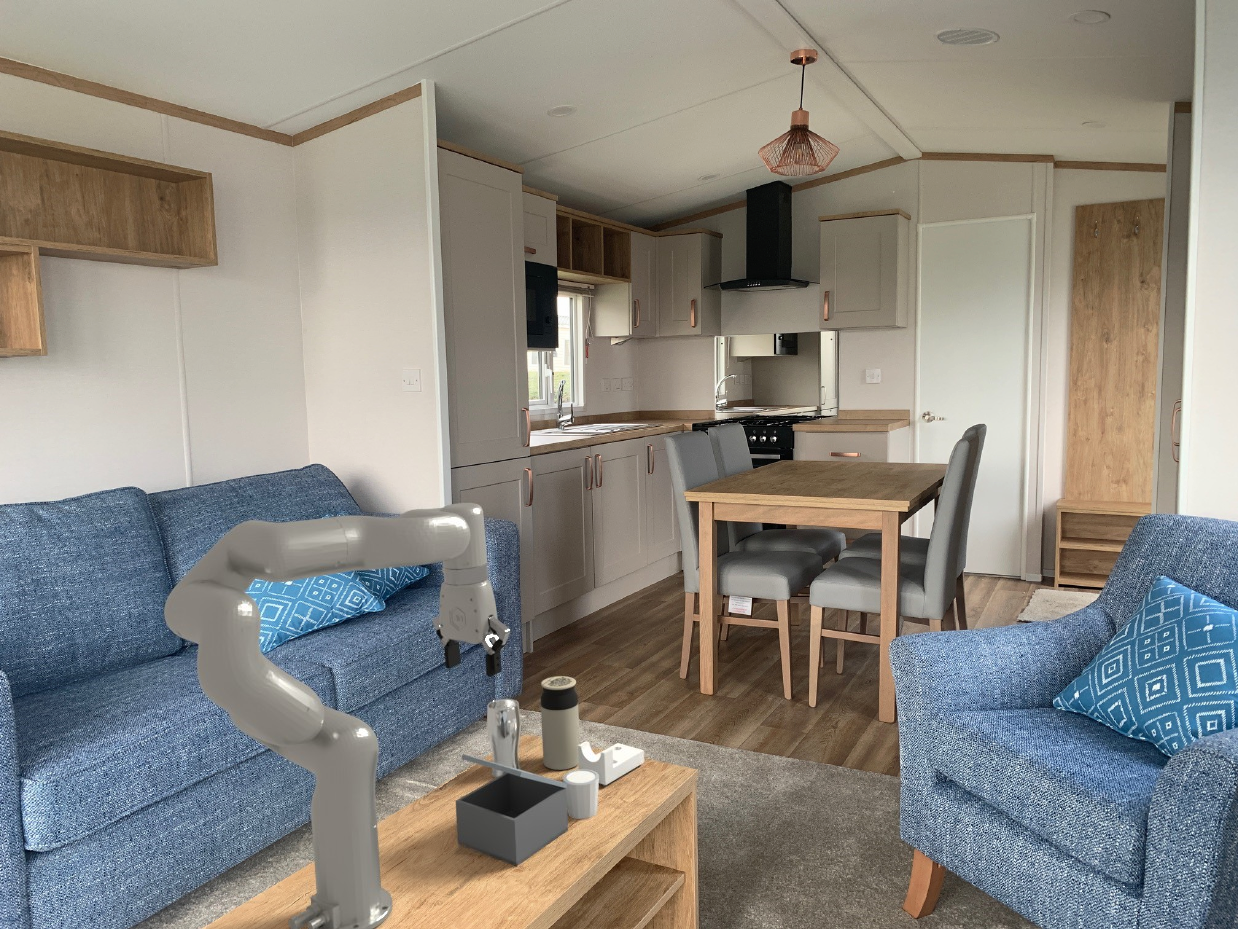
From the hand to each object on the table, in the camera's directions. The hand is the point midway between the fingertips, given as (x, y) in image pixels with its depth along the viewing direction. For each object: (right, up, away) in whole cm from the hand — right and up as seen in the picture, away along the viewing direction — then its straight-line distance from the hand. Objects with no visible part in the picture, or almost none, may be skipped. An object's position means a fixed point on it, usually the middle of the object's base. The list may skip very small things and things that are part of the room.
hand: (473, 670), depth 153 cm
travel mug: (+13, -29, +35) cm, 47 cm away
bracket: (+24, -29, +30) cm, 48 cm away
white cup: (+19, -30, +13) cm, 38 cm away
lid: (+7, -20, +4) cm, 21 cm away
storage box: (+7, -31, +4) cm, 32 cm away
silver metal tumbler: (+2, -29, +31) cm, 43 cm away
